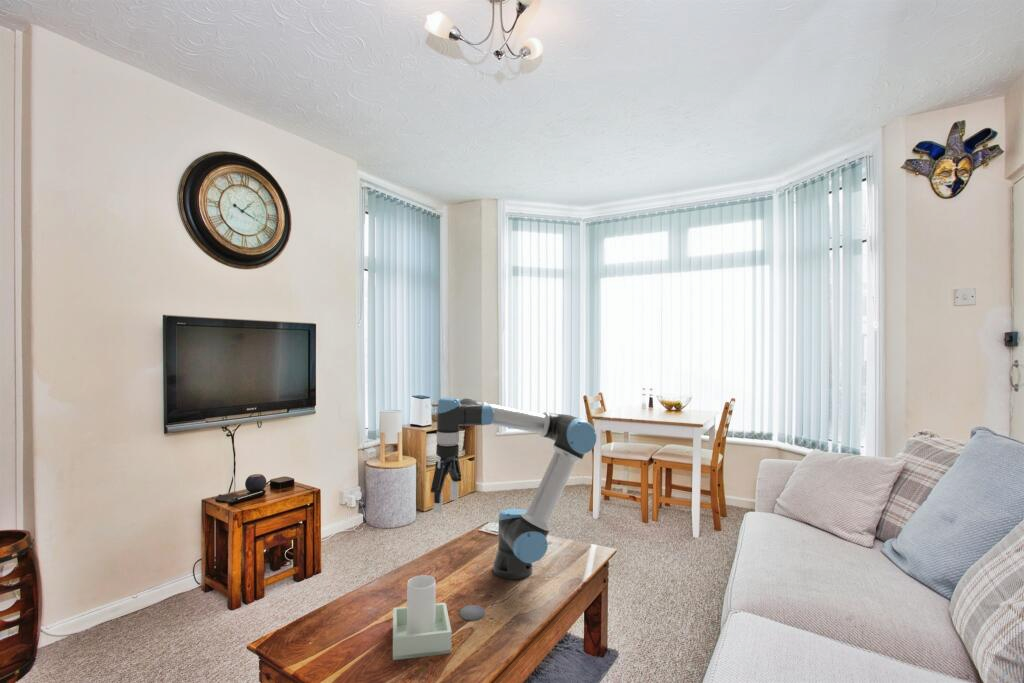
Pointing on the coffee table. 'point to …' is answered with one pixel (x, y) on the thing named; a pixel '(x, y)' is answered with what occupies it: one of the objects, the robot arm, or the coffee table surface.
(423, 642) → the bin
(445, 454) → the robot arm
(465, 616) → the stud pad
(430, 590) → the cup
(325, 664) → the coffee table surface
